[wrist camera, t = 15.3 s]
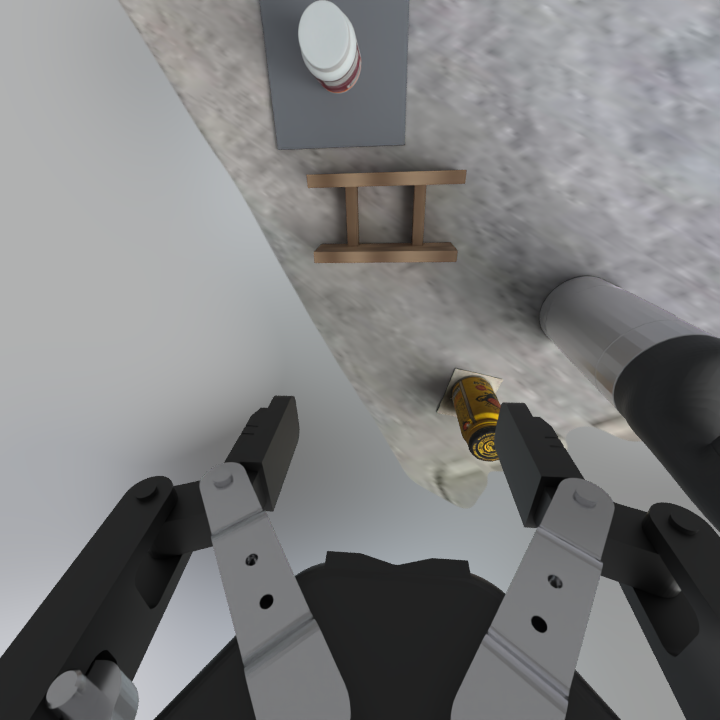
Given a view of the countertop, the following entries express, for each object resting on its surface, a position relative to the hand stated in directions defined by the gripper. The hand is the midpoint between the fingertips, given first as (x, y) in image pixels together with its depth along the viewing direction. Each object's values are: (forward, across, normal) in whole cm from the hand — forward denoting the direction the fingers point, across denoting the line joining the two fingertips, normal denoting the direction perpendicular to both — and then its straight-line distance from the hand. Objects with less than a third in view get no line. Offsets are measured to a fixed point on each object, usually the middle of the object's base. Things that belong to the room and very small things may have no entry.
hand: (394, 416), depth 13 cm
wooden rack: (+33, +1, -4) cm, 33 cm away
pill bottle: (+33, +6, -18) cm, 38 cm away
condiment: (+33, -12, +22) cm, 42 cm away
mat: (+33, +6, -18) cm, 38 cm away
